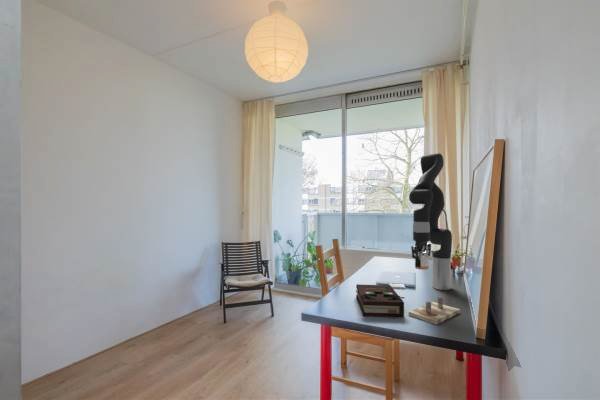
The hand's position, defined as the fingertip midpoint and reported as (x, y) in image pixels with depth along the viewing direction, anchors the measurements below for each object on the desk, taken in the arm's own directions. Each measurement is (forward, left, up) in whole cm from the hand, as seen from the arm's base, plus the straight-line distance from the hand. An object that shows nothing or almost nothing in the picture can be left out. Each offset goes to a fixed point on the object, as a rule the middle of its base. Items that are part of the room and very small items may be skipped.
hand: (421, 266), depth 138 cm
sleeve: (0, 0, -1) cm, 1 cm away
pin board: (+9, +11, -17) cm, 23 cm away
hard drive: (-15, -24, -18) cm, 34 cm away
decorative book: (+21, -10, -18) cm, 29 cm away
